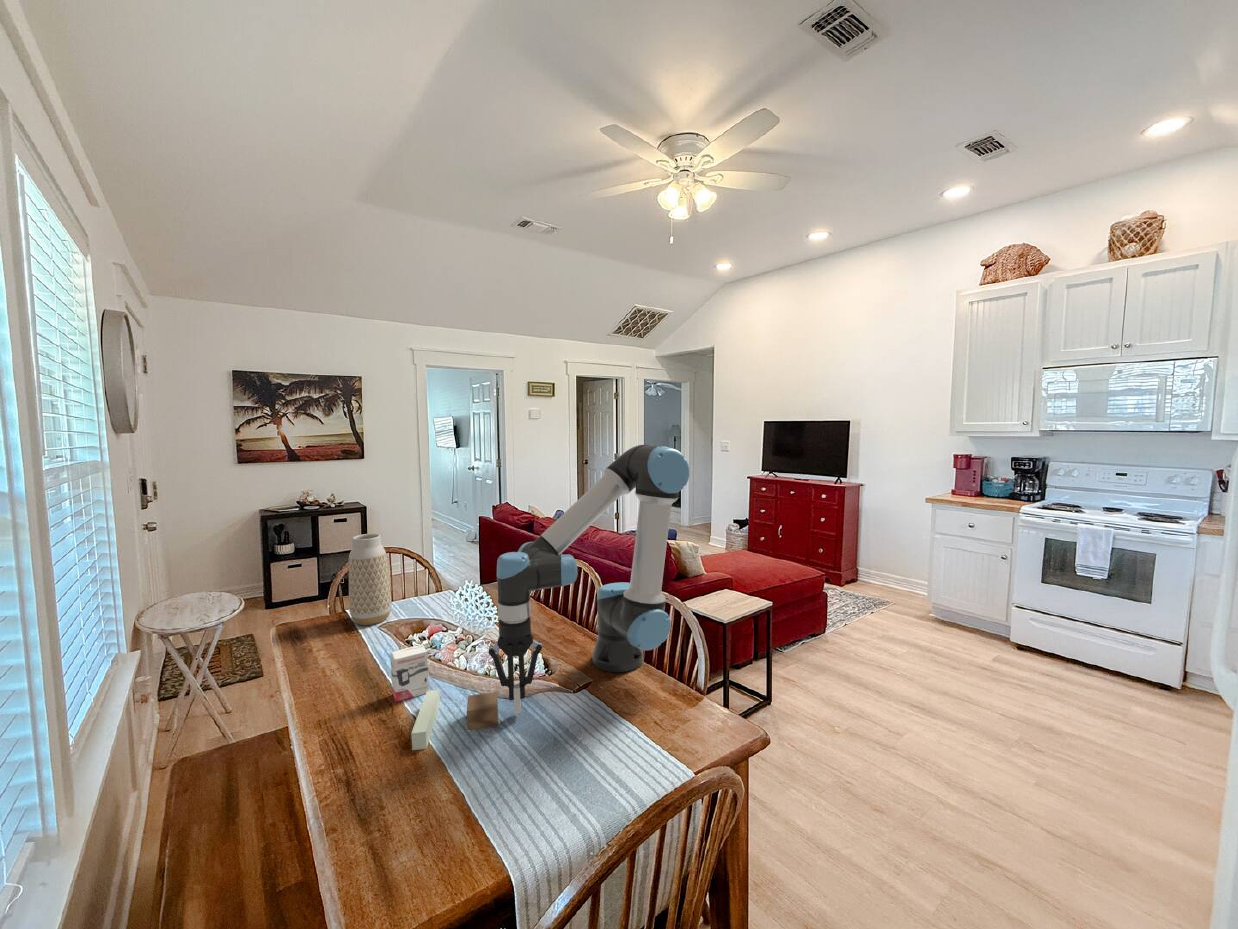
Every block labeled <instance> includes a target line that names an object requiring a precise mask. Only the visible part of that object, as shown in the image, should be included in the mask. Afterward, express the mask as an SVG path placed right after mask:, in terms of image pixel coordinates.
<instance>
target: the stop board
mask: <svg viewBox="0 0 1238 929" xmlns="http://www.w3.org/2000/svg"><path fill="white" fill-rule="evenodd" d="M440 695H441V694H440V689H434V690H433V689H431V690H429V691H427V692H426V694H424V697H423V701H422V703H421V705H420V709H419V712H418V715H417V716H416V717H417V718H416V719H415V722H414V725H413V728H412V731H411V750H412V751H417V750H419V751H420V750H425V749H428V745H429V742H430V739H431V735H432V733H431V732H433V728H434V725H435V723H436V719H437V717H438V712H439V709H440V707H441V698H440Z"/></svg>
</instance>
